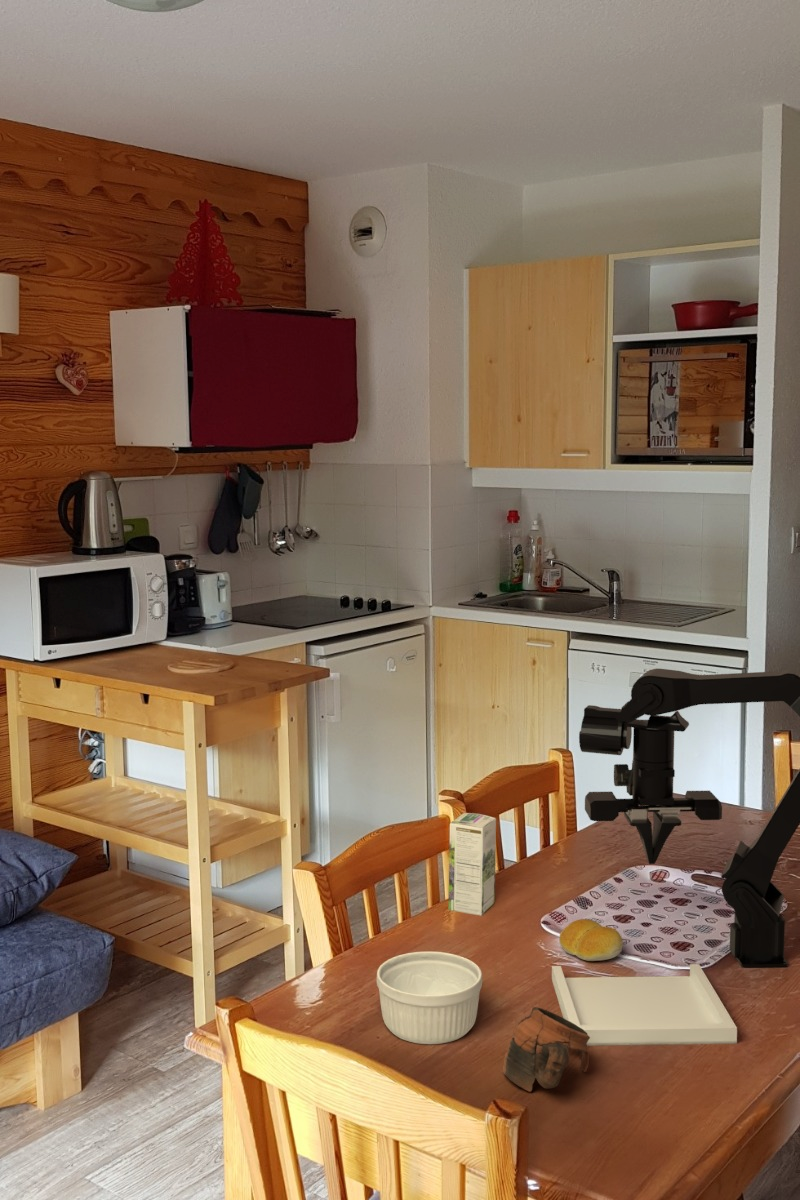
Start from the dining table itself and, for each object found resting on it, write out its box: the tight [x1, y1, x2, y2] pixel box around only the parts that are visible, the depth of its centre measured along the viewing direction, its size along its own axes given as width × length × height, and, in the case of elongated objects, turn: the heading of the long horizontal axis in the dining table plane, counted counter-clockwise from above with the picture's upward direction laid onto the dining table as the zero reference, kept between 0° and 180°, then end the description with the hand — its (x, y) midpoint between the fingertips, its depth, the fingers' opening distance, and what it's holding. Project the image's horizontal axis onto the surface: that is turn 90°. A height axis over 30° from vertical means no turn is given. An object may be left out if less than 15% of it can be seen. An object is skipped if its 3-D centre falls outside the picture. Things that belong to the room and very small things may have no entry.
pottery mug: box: [502, 1006, 590, 1093], centre depth 137 cm, size 12×9×8 cm
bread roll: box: [558, 918, 624, 962], centre depth 171 cm, size 8×9×4 cm
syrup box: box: [448, 812, 497, 917], centre depth 188 cm, size 6×6×14 cm
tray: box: [551, 963, 738, 1047], centre depth 154 cm, size 20×18×2 cm
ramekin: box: [376, 951, 483, 1045], centre depth 150 cm, size 13×13×7 cm
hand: (651, 863), depth 173 cm, fingers closed
